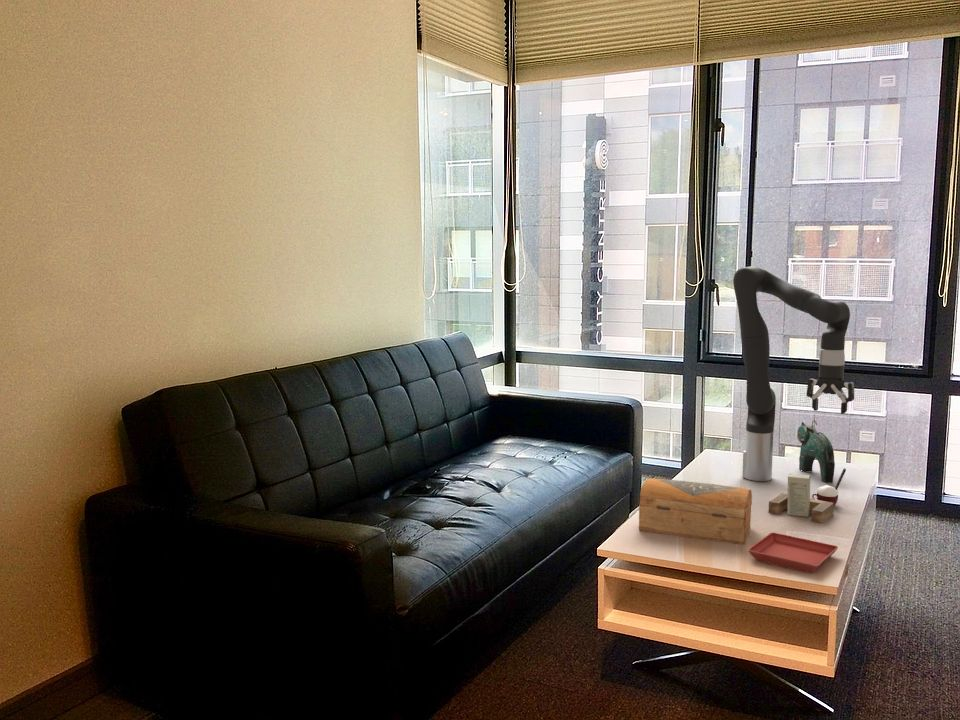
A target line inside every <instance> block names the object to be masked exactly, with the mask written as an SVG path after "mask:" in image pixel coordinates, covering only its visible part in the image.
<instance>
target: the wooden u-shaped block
mask: <svg viewBox="0 0 960 720" xmlns="http://www.w3.org/2000/svg"><path fill="white" fill-rule="evenodd" d="M787 504H788V493H780V494H779V495H777V496H775V497H774V498H772V499H771V500H768V513H769V514H775V515H779V514H781V513H782V512H784V511H786V509H787ZM834 506H835V505H834V503H832V502H827V501H821V500H818V499H816V498H814V499H813V498H810V513H811V522H815V523H819V524H822V523H824V522H825V521H826V520H828V519H829V518H830V517H831V516H832V515H833V514H834Z"/></svg>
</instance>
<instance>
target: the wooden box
mask: <svg viewBox="0 0 960 720" xmlns="http://www.w3.org/2000/svg"><path fill="white" fill-rule="evenodd" d="M638 502H639V506H638V508H639V509H638V531H642V532H648V533H656V534H662V535H669V536H670V535H671V536H678V537H685V538H692V539H699V540H707V541H715V542H722V543H728V544H729V543H730V544H736V545H745V543H746V542H747V539H748V536H749V534H750V530H751V518H752V505H753V492H752V489H750V488H747V487H741V486H740V487H739V486H732V485H724V484H723V485H721V484H715V483H705V482H696V481H689V480H687V481H686V480H675V479H664V478H653V477H648V478H647V479H645V481H644V482H643V483H642V486H641V489H640V493H639V501H638Z"/></svg>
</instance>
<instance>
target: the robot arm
mask: <svg viewBox="0 0 960 720" xmlns="http://www.w3.org/2000/svg"><path fill="white" fill-rule="evenodd" d="M732 279H733V280H732V281H733V282H732V283H733V290H734V294H735V299H736V303H737V304H736V305H737V309H738V321H739V327H740V342H741V351H742V357H743V364H744V369H745V375H746V395H745V397H746V399H745V401H746V405H747V418H746V424H745V426H746V428H745V430H746V431H745V450H743V453H742V473H741V474H742V476H741V477H742V478H745V479H747V480H750V481H753V482H768V481H771V480H772V477H773V458H774V457H773V456H774V455H773V454H774V453H773V452H774V431H775V422H776V421H775V419H776V405H777V403H776V402H777V401H776V400H777V399H776V393H775V392H774V389H773V388H771V384H770V379H769V378H770V377H769V368H770V366H769V365H770V355H771V354H770V352H771V351H770V350H771V346H770V336H769V335H770V334H769V329H768V326H767V324H766V322H765V320H764V318H763V315H762V314H761V313H760V309H759V305H758V299H757V298H758V297H757V293H764V294H769V295H770V296H771V295H772V296H774V297H777V298H778V299H779V300H780V301H782V302H783V303H784V304H786V305H788V306H790V307H791V308H793V309H795V310H799V311H801V312H803V313H806V314H808V315H810V316H812V318H815V319H816V320H818V321H820V322H822V323H824V324H825V323H826V324H827V325H826V329H825V330H824V331H823V332H822V334H821V337H820V338H821V340H820V352H819V363H818V379H814V378H809V379H808V380H807V386H806V388H807V389H806V397H808V398H810V399H812V401H811V408H812V409H813V411H816V412H817V411H818V410H819V400H820V399H819V397H821V395H822V394H825V395H827V394H828V395H829V394H830V395H832V396H833V395H837V398H839V399H840V401H841V405H840V406H841V407H840V414H841V415H844V414H846V413H847V411H848V403H849V402H852V401H854V400H855V383H854V381H851V382H845V380H844V377H845V363H846V360H845V359H846V357H845V353H846V352H845V346H846V345H845V344H846V340H845V339H846V334H847V330H848V326H849V323H850V318H851V311H850V307H849V306H848V304H847V303H846V302H844V301H841V300H836V301H831V300H830V301H829V300H826V299H824V298H822V297H821V295H819V294H818V293H816V292H813V291H810V290H807V288H806V289H805V288H803V287H800V286H798V285H795V284H793V283H790V282H787V281H785V280H784V279H781V278H779V277H778V276H776V275H774V274H772V273H771V272H769V271H768V270H766V269H765V268H764V267H760V266H756V265H752V266H744V267H741V268H738V269H737V270H736V271H735V273H734V275H733V278H732ZM816 385H817V386H818V389H817V390H816V391H815V392H814V386H816ZM844 387H845V389H846V390H847V395H846V393H845V392H844V390H843V388H844Z"/></svg>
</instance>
